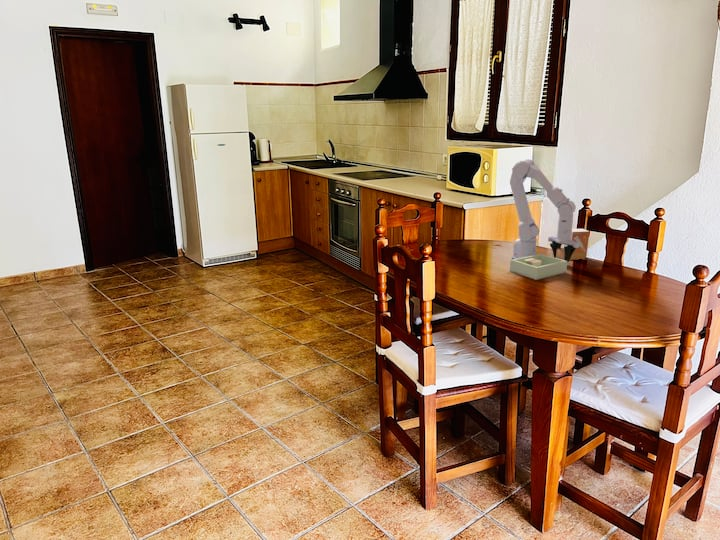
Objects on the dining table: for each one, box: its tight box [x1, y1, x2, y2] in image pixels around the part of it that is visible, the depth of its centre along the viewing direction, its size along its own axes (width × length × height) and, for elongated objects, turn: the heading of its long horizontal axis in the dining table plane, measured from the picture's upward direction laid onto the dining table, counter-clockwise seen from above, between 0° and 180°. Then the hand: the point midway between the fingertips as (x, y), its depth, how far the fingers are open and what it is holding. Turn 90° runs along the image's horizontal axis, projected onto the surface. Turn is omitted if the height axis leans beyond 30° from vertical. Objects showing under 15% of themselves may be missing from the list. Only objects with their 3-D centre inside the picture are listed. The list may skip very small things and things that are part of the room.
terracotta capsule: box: [556, 247, 569, 265], centre depth 234 cm, size 5×5×7 cm
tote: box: [509, 253, 568, 281], centre depth 224 cm, size 14×18×5 cm
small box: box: [563, 228, 590, 261], centre depth 244 cm, size 8×6×13 cm
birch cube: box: [524, 258, 542, 267], centre depth 222 cm, size 5×5×5 cm
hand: (561, 260), depth 235 cm, fingers closed on terracotta capsule, 5 cm apart
